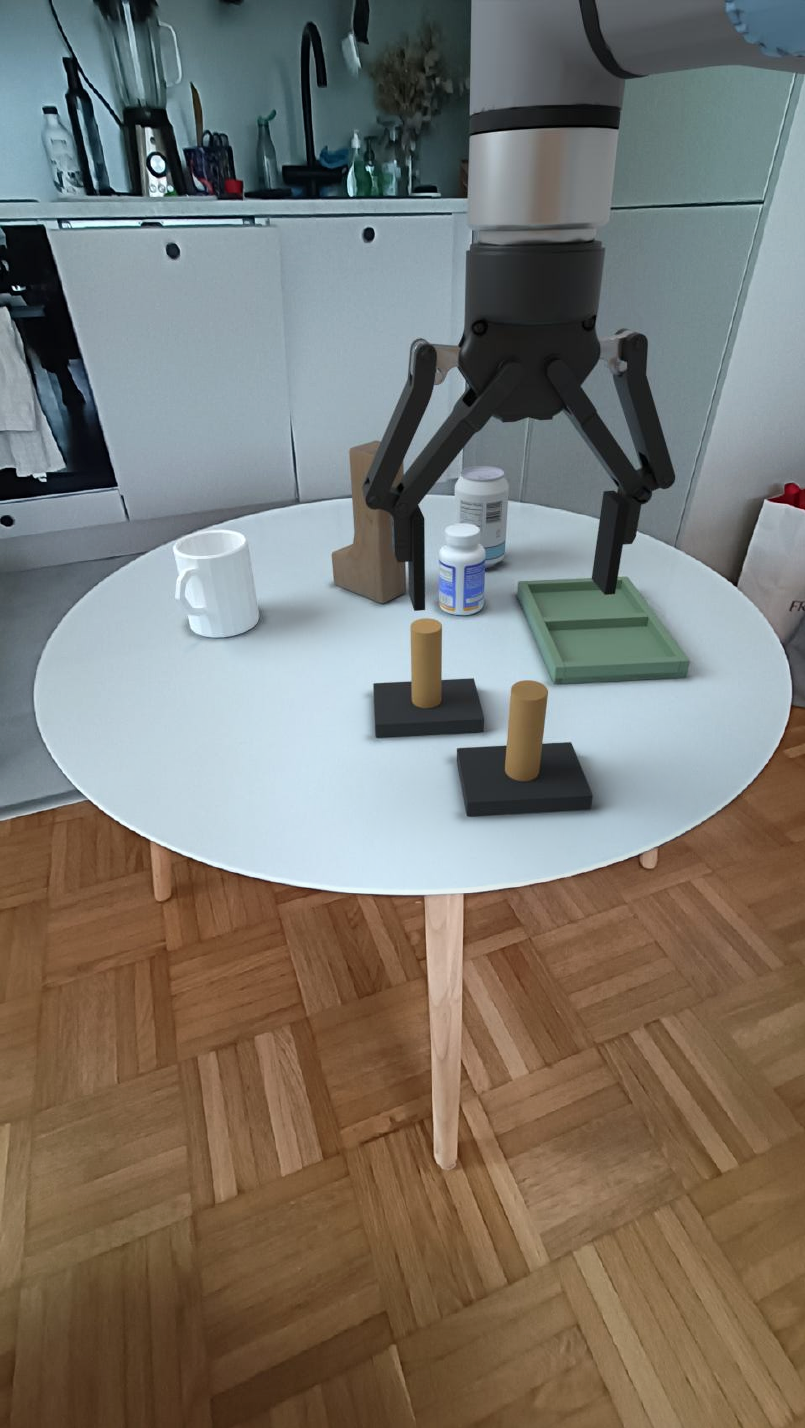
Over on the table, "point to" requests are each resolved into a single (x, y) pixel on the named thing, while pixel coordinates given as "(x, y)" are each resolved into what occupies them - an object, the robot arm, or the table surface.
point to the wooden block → (369, 540)
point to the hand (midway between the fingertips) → (511, 594)
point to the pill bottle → (461, 570)
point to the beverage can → (484, 507)
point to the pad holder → (598, 632)
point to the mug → (216, 583)
